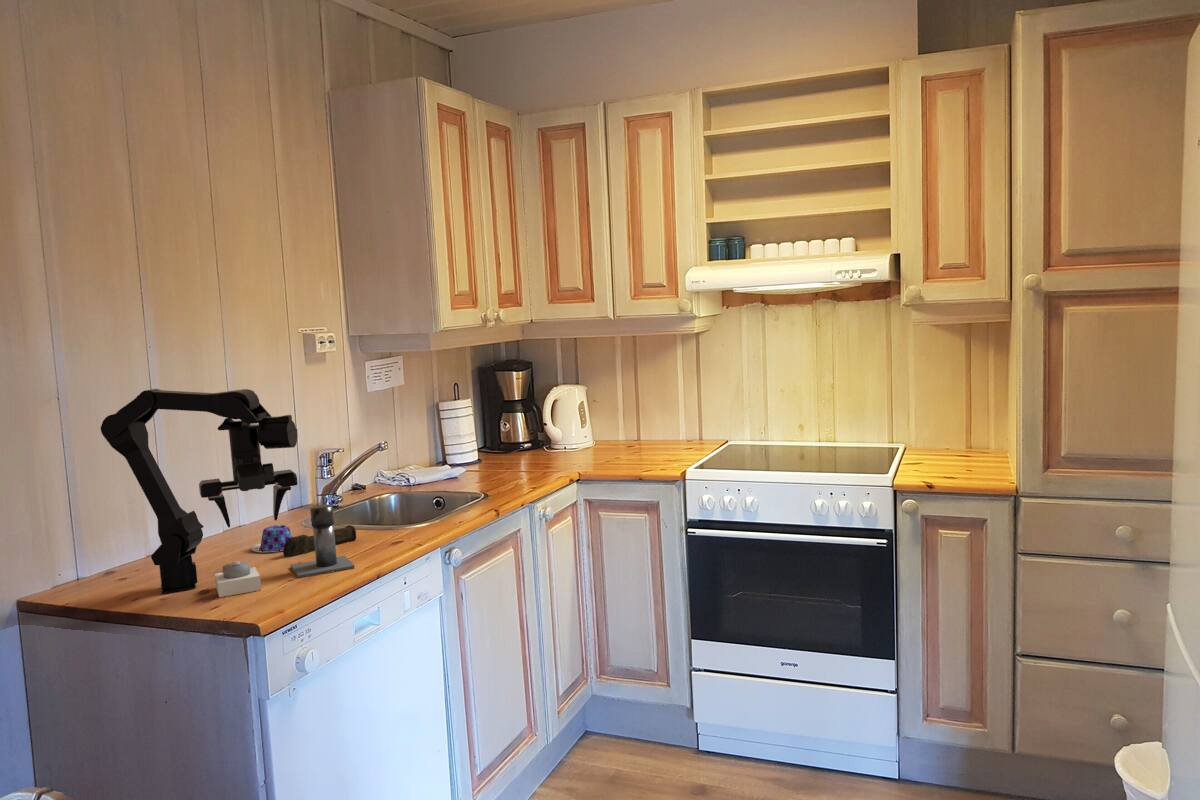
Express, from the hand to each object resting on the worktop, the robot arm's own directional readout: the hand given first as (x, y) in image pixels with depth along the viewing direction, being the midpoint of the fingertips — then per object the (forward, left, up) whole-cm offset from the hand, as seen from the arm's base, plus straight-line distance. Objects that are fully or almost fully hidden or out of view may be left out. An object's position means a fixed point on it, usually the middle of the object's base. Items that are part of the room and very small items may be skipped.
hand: (252, 523), depth 188 cm
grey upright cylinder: (+15, +4, -12) cm, 20 cm away
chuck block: (-4, -1, -13) cm, 14 cm away
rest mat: (+14, +4, -13) cm, 20 cm away
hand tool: (+17, +22, -14) cm, 31 cm away
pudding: (+8, +31, -14) cm, 35 cm away
